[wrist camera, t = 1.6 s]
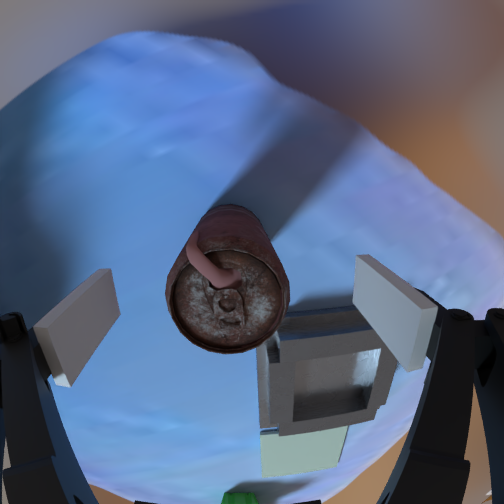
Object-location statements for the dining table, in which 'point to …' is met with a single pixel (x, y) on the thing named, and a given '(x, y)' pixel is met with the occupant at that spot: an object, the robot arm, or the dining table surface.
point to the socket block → (322, 372)
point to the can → (228, 283)
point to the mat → (300, 451)
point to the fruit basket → (239, 498)
